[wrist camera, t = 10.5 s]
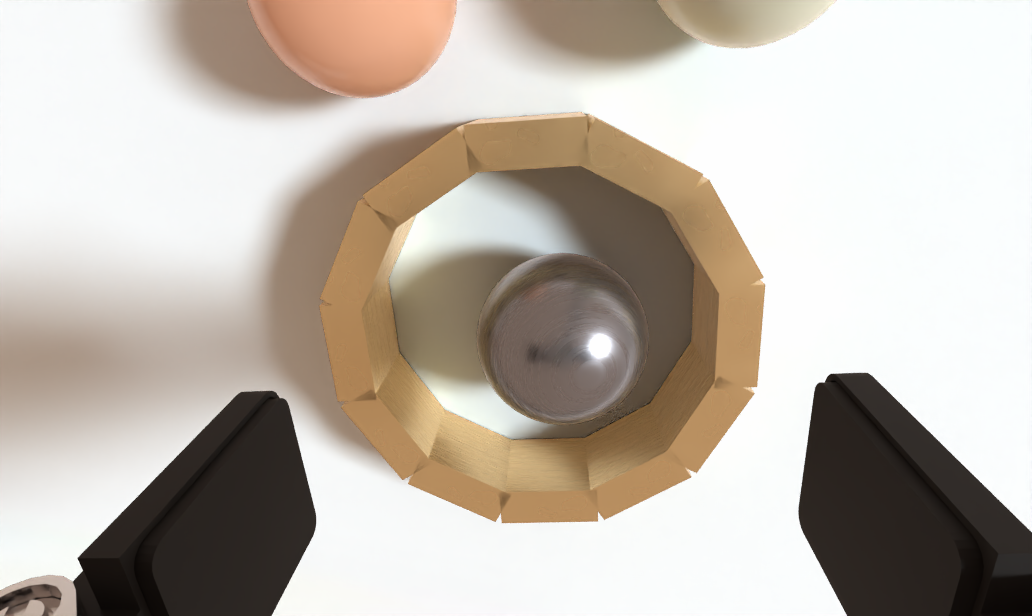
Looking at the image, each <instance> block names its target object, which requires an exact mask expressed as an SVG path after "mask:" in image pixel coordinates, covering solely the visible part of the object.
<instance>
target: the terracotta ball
mask: <svg viewBox="0 0 1032 616" xmlns="http://www.w3.org/2000/svg"><path fill="white" fill-rule="evenodd" d="M247 2H248V6H249V9H250V11H251V14H252V16H253V19H254V21H255V23H256V25H257V27H258V29H259V31H260V33H261V35H262V36H263V38H264V39H265V41H266V42H267V44H268V45H269V47H270V48H271V49H272V51H273V52H274V53H275V54H276V55H277V57H278V58H279V59H280V60H281V61H282V62H283V63H284V64H285V65H286V66H287V67H288V68H289V69H290V70H292V71H293V72H294V73H296V74H297V75H298V76H300V77H301V78H302V79H304V80H306V81H307V82H309V83H311V84H312V85H314V86H316V87H318V88H320V89H323V90H325V91H327V92H330V93H334V94H337V95H341V96H346V97H354V98H374V97H381V96H385V95H388V94H392V93H395V92H398V91H400V90H402V89H404V88H406V87H408V86H410V85H411V84H413V83H414V82H416V81H418V80H419V79H420V78H421V77H422V76H423V75H425V74H426V73H427V72H428V71H429V70H430V68H431V67H432V66H433V65H434V64H435V63H436V61H437V60H438V58H439V57H440V55H441V54H442V52H443V50H444V48H445V46H446V44H447V42H448V40H449V37H450V34H451V31H452V28H453V24H454V19H455V14H456V5H457V0H247Z"/></svg>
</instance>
